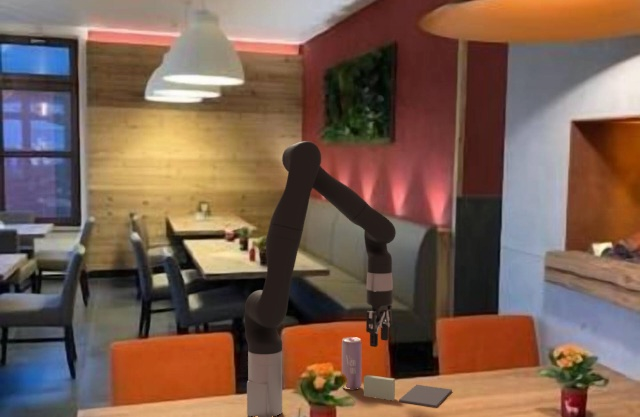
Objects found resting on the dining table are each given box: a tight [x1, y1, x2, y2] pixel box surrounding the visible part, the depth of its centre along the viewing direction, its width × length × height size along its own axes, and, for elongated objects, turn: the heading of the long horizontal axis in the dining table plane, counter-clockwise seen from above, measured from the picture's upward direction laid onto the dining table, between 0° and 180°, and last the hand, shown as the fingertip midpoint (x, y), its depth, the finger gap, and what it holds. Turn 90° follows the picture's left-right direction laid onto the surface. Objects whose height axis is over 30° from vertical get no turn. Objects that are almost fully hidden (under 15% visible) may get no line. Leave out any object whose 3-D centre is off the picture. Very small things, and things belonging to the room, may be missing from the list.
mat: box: [398, 384, 453, 408], centre depth 196 cm, size 16×11×1 cm
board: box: [363, 374, 396, 402], centre depth 195 cm, size 2×9×6 cm, turn 64°
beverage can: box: [341, 336, 362, 389], centre depth 204 cm, size 6×6×15 cm
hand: (379, 343), depth 194 cm, fingers open, 8 cm apart
